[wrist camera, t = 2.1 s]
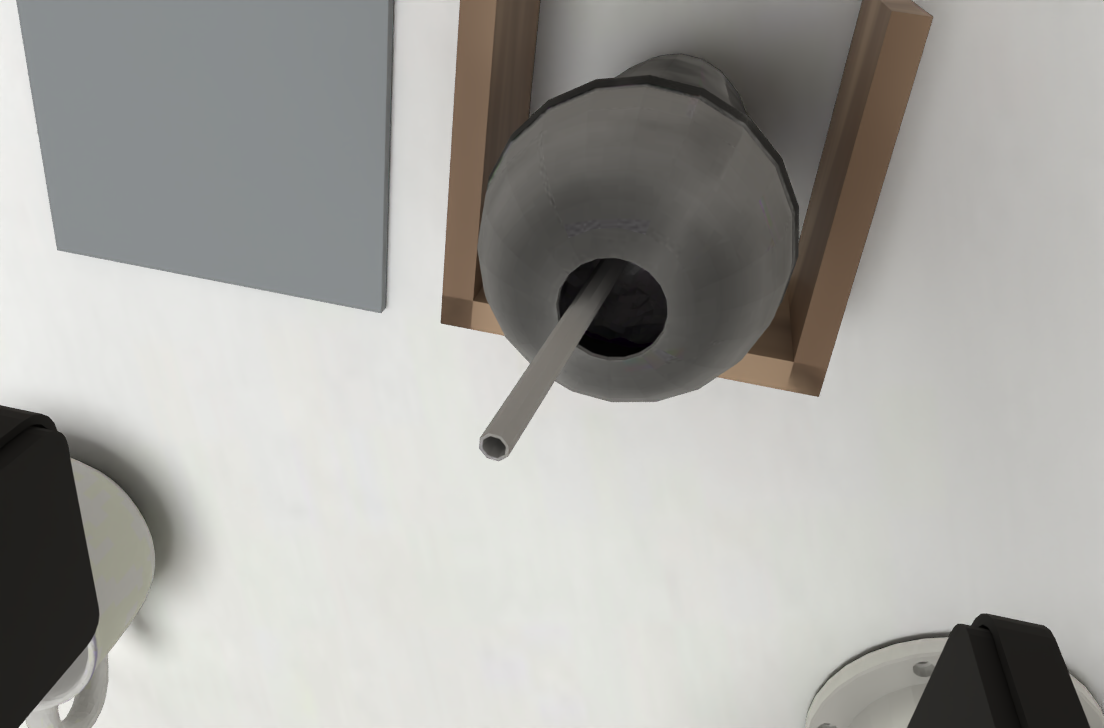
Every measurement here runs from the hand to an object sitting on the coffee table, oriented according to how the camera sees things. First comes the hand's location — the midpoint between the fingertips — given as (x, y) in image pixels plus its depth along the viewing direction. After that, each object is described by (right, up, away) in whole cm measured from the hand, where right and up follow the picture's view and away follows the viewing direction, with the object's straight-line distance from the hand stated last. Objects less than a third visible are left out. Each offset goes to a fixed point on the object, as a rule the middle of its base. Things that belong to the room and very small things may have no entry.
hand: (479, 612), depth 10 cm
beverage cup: (+5, +11, +21) cm, 24 cm away
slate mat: (-12, +12, +24) cm, 29 cm away
